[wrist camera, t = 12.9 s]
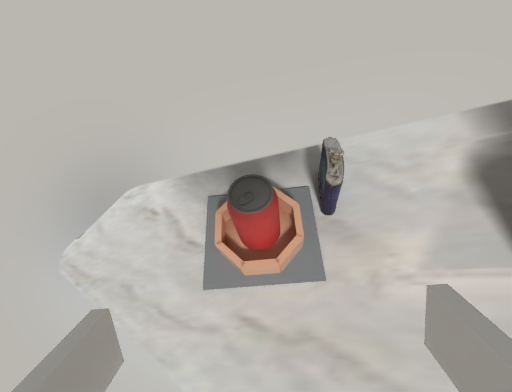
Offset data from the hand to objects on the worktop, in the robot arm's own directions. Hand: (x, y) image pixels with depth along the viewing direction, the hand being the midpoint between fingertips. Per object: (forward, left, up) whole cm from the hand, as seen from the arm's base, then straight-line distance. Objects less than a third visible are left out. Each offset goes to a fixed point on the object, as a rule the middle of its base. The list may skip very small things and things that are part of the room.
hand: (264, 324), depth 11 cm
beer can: (+2, -16, -27) cm, 31 cm away
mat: (+2, -16, -28) cm, 32 cm away
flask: (-10, -22, -28) cm, 37 cm away
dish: (+2, -16, -27) cm, 32 cm away
